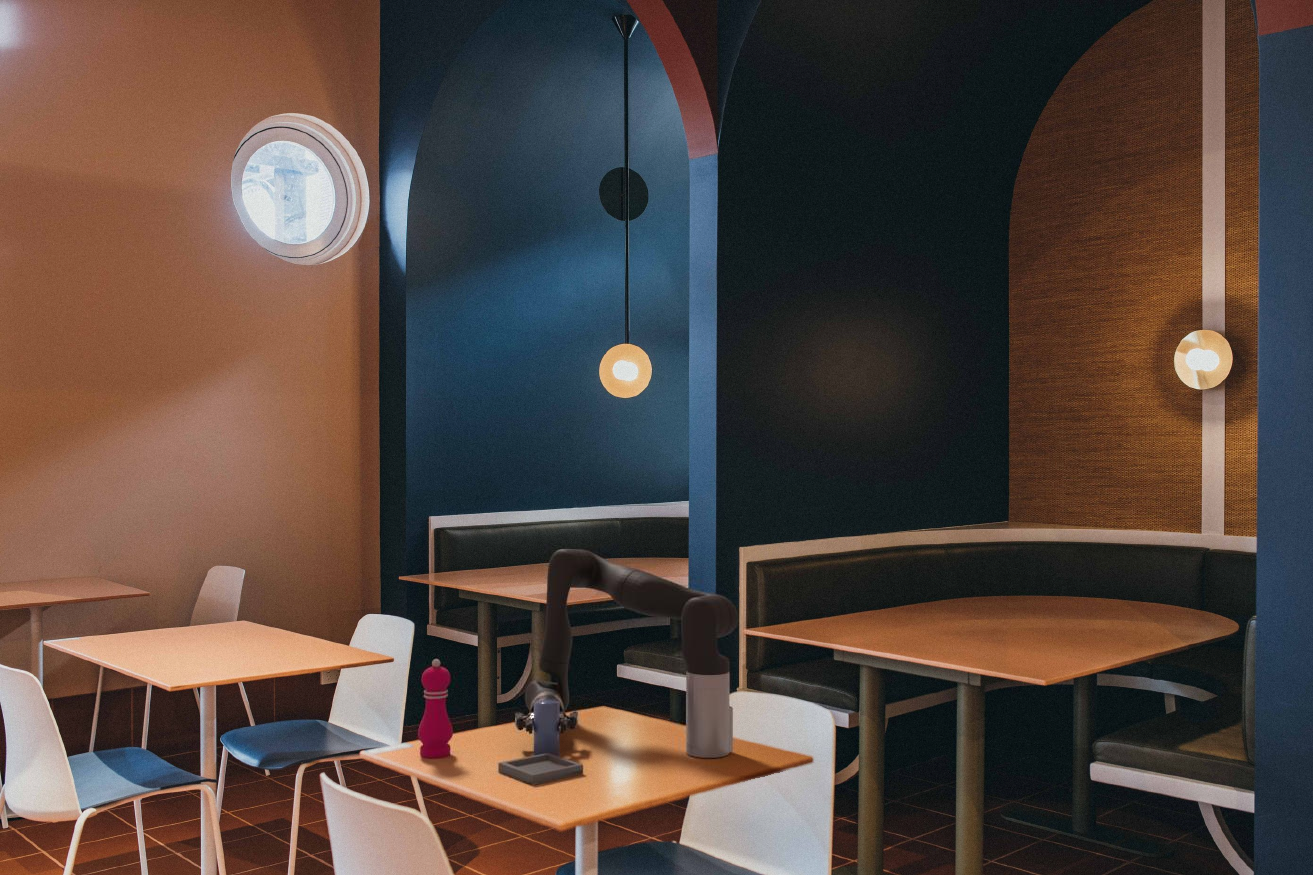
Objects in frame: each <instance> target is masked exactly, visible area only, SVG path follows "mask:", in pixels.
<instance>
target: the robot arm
mask: <svg viewBox="0 0 1313 875" xmlns="http://www.w3.org/2000/svg"><path fill="white" fill-rule="evenodd" d="M546 577H547V578H546V581H547V582H546V583H547V584H546V601H545V602H546V605H545V606H546V607H545V608H546V609H545V613H546V614H545V626H544V633H543V639H542V643H541V644H542V645H541V650H540V654H539V655H540V656H539V662H538V668H539V669H540V671H542V672H543V673H545V674H548V675H551V676H552V677H554V678H555V680H556V681H557V682H551V681H546V680H545V681H544V680H541V679H540V680H539V679H535V680H532V681H530V682H529V684H527V686H526V689H525V692H524V701H525V705H526V707H527V709H528V710H529V713H527V715H524V713H522V712H519V711H518V712H517V711H516V712H515V713H514V714H515V720H514V721H515V723H514V725H515V727H516V729H517V730H518V731H523V730H524V729H525V732H528V734H531V735H532V734H533V731H534V702H535V701H538V700H557V701H559V702H560V706H559V734H565V732H567V731H568V728H569V729H570V730H575V729H576V728H577V726H578V723H579V712H578V711H575V710H574V711H572V712H570V713H569V714H566V712H565V711H566V710H567V708H568V706H569V704H570V693H569V692H570V691H569V681H568V680H569V679H568V674H569V672H568V671H569V664H570V658H571V652H572V647H573V632H572V627H571V623H570V620H569V614H568V608H567V607H568V597H569V593H570V591H571V589H591V590H595V591H599V592H602V593H605V594H607V595H609V596H610V597H611V599H612V600H613V601H614V602H615V603H616V604H618V605H619V606H621V607H623V608H625V609H627V610H630V611H633V612H636V613H638V614H642V615H645V616H649V617H657V618H663V619H674V620H679V621H680V620H681V621H680V622H681V623H680V626H681V628H680V629H681V648H682V649H681V650H682V656H683V659H684V662H685V665H686V666H685V674H686V675H685V676H686V677H685V682H686V683H685V685H686V686H685V690H686V691H685V692H686V693H685V694H686V695H685V698H686V699H685V703H686V705H685V706H686V707H685V709H686V710H685V712H686V713H685V720H686V721H685V722H686V724H685V745H686V746H685V747H686V749H685V753H686V755H689V756H692V757H696V758H702V759H705V758H707V759H713V758H721V757H726V756H728V755H730V753H733V751H734V743H733V741H734V738H733V737H734V708H733V706H731V705H730V660H729V658H728V657H727V656H725V655H723V654H721V653H720V652H719V650H718V639H719V638H723V637H726V636H727V635H729V634H731V633H732V632H733V631H734V630H735V629H736V627H737V626H738V624H739V612H738V611H737V607H736V606H735V604H734V603H733V602H732V601H731V600H730V599H728V598H727V597H725V596H724V595H721V594H715V593H711V592H706V591H700V590H696V589H693V588H689V587H686V586H684V585H681V584H679V583H676V582H675V581H671V580H668V579H666V578H663V577H661V576H659V575H655V574H653V573H649V572H647V571H644V570H642V569H641V570H640V569H638V568H634V567H630V566H627V565H623V564H618V563H614V562H611V561H609V560H607V559H606V558H603V557H601V556H599V555H597V554H596V553H593V552H592V551H589V550H586V549H582V548H581V549H577V548H576V549H573V548H571V549H570V548H561V549H558V550H556V551H555V552H553V554H552V555H551V557H550V560H549V562H548V569H547V576H546Z"/></svg>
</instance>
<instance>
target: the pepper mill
mask: <svg viewBox="0 0 1313 875" xmlns="http://www.w3.org/2000/svg"><path fill="white" fill-rule="evenodd" d="M450 683H451V674H450V672H449V670H448V669H447V668H445V667H443V666H441V661H440V659H438V658H435V659H433V660H432V662H431V666H429V667H427V669H425V670H424V671H423V673H422V674H421V684H422V687H424V690H423V693H424V694H423V698H425V709H424V713H423V717H422V718H421V721H420V724H419V727H418V730H417V738H418V740H419V742H421V744H422V745H421V746H420V748H419V755H420V757H421V758H426V759H440V758H445V757H448V756H449V755H450V754H451V745H450V743H449V742H450V741H451V739H452V738H453V734H454V733H453V731H454V730H453V726H452V723H451V720H450V718H449V716H448V712H447V706H446V700H447V697H448V696H449V694H448V692H449V690H448V689H447V687H448V686H449V685H450Z"/></svg>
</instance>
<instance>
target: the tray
mask: <svg viewBox="0 0 1313 875" xmlns="http://www.w3.org/2000/svg"><path fill="white" fill-rule="evenodd" d="M497 768H498V773H500V774H503V775H506V776H508V777H510V778H514V779H516V780H518V781H521V782H524V783H527V784H529V785H531V786H535V785H537V784H538V785H539V784H543V783H548V782H553V781H558V780H560V779H566V778H571V777H575V776H580V775H584V764H582V763H579V762H576V761H574V760H571V759H567V758H564V757H562V756H560V755H558V756H556V755H553V754H550V753H545V754H540V755H535V756H534V755H531V756H526V757H521V758H515V759H511V760H505V761H500V762H498V767H497Z"/></svg>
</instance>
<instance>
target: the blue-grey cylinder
mask: <svg viewBox="0 0 1313 875" xmlns="http://www.w3.org/2000/svg"><path fill="white" fill-rule="evenodd" d="M559 706H560V702H559V701H557V700H538V701H535V702H534V730H533V756H535V755H540V754H545V753H550V754H553V755H556V756H560V730H559Z"/></svg>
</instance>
